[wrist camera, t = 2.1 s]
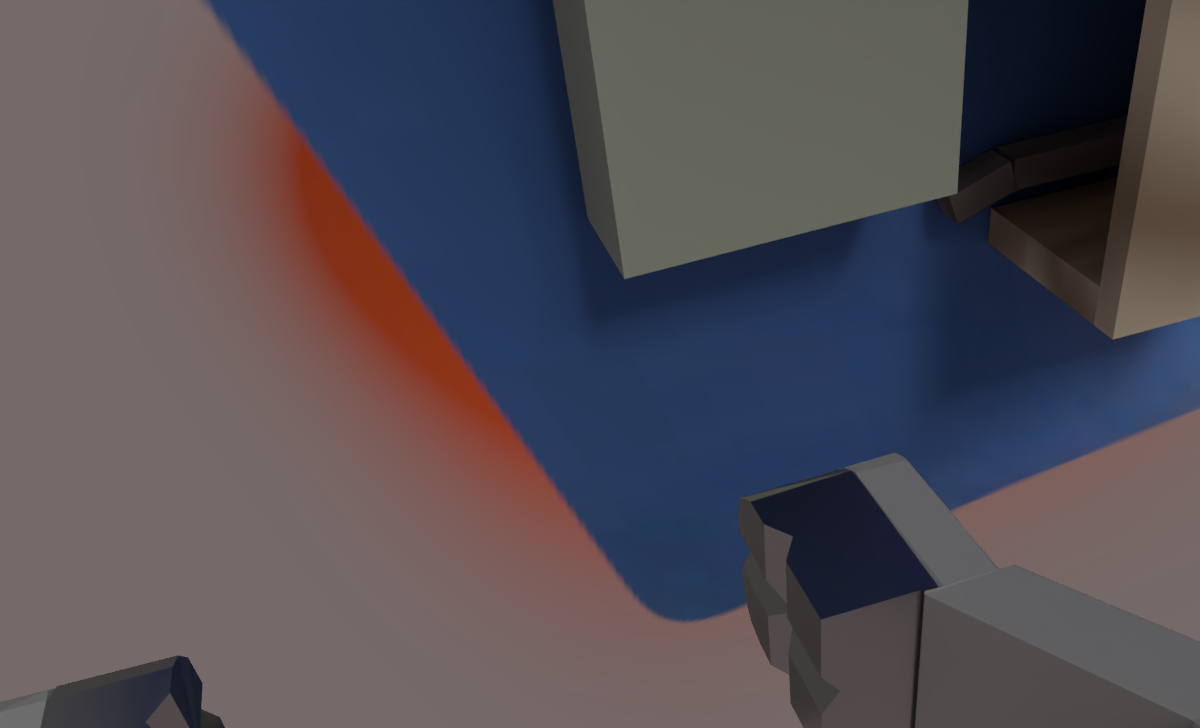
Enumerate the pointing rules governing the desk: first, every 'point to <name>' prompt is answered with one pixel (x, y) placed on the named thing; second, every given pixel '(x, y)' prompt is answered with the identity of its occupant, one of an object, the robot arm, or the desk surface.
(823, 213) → the case
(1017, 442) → the desk surface
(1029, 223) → the low shelf
